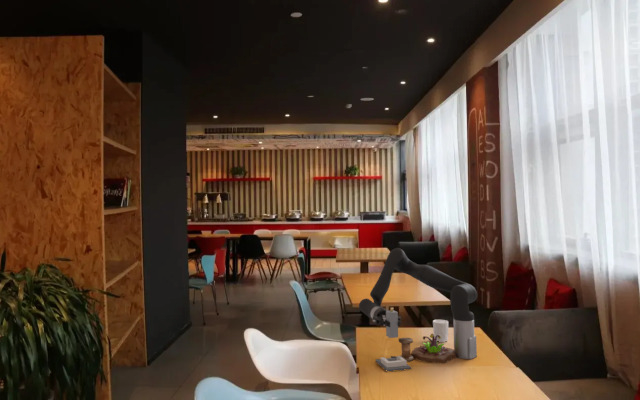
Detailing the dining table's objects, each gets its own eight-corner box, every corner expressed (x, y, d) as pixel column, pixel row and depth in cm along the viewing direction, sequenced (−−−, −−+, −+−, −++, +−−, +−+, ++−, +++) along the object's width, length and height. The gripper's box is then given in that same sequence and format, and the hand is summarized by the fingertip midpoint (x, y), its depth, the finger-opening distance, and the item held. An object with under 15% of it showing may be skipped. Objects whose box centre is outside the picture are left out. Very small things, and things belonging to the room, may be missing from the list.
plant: (405, 359, 220) (404, 334, 220) (420, 348, 236) (419, 325, 237) (447, 366, 209) (447, 340, 209) (460, 354, 226) (460, 330, 226)
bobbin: (416, 359, 219) (415, 339, 219) (407, 362, 214) (407, 342, 214) (398, 354, 226) (398, 335, 226) (390, 357, 221) (390, 338, 221)
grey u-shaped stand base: (375, 361, 216) (375, 355, 216) (398, 359, 219) (398, 352, 219) (387, 371, 202) (387, 364, 202) (411, 369, 205) (411, 362, 205)
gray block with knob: (386, 335, 212) (385, 307, 212) (394, 334, 213) (394, 306, 213) (389, 338, 208) (389, 309, 208) (398, 337, 209) (397, 308, 209)
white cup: (430, 339, 250) (429, 320, 251) (443, 337, 253) (443, 319, 253) (438, 343, 243) (438, 323, 243) (451, 341, 245) (451, 322, 245)
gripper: (366, 308, 223) (379, 316, 206) (394, 306, 226) (409, 314, 210) (366, 324, 223) (379, 334, 206) (394, 322, 226) (409, 331, 210)
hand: (394, 324), depth 208 cm, fingers closed on gray block with knob, 4 cm apart
